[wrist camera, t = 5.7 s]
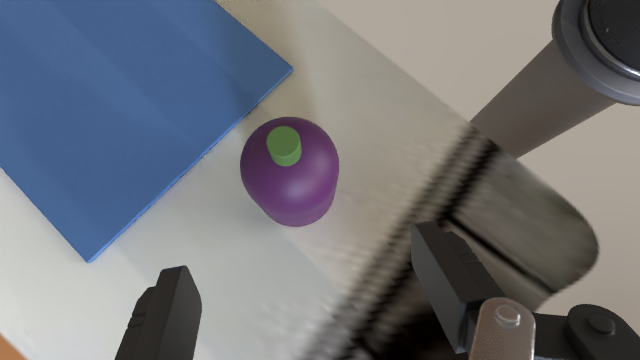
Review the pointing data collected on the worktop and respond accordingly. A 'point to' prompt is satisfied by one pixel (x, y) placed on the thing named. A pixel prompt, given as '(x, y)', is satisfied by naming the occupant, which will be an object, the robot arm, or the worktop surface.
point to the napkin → (119, 103)
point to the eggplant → (290, 170)
